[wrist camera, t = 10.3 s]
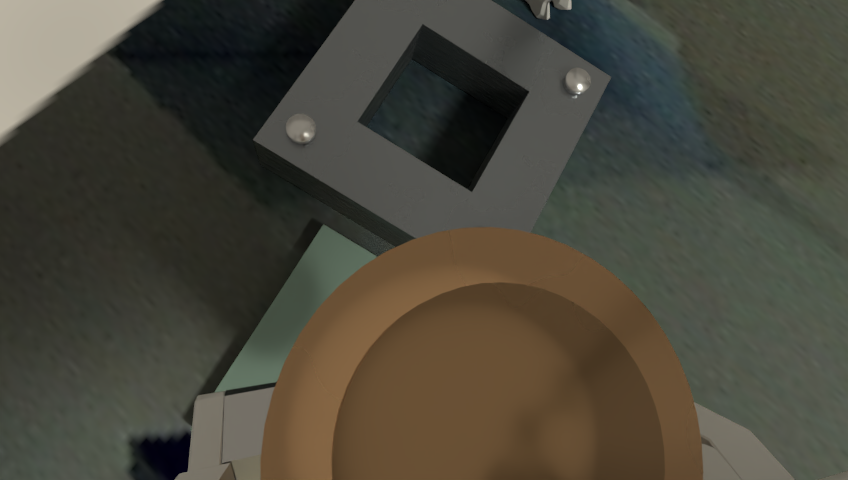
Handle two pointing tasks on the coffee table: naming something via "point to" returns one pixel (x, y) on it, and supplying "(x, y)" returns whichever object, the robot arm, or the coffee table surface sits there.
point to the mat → (295, 308)
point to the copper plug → (482, 372)
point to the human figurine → (547, 7)
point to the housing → (463, 67)
